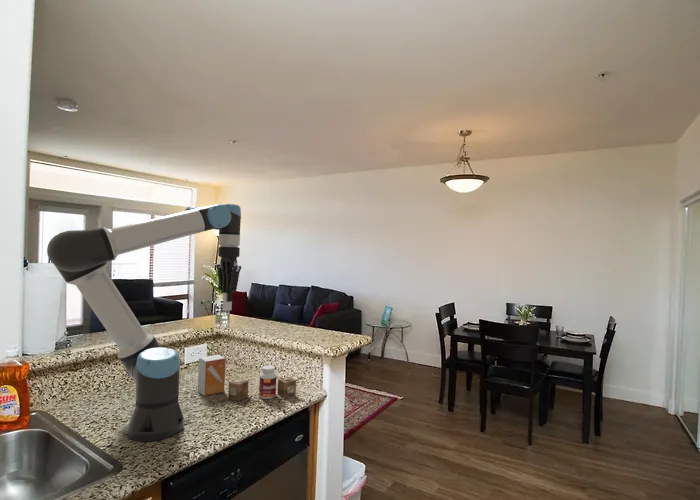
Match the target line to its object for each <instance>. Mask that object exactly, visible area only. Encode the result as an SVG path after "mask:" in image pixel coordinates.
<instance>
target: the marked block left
mask: <svg viewBox="0 0 700 500" xmlns="http://www.w3.org/2000/svg"><path fill="white" fill-rule="evenodd" d="M227 397H228V399H231V400H234V401H237V402H238V401H239V402H240V401H241V400H244V399H245V398H248V397H249V380H247V379H244V378H238V377H237V378H235V379H233V380H230V381H229V382H228V396H227Z"/></svg>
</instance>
